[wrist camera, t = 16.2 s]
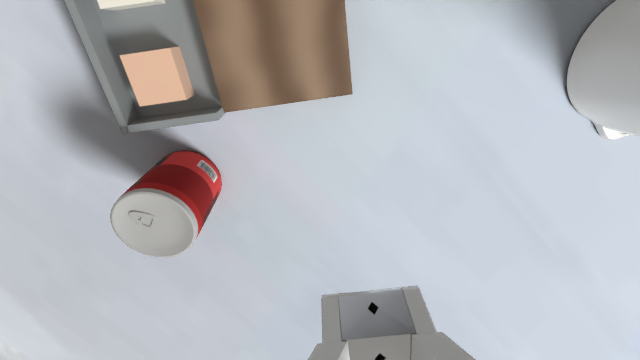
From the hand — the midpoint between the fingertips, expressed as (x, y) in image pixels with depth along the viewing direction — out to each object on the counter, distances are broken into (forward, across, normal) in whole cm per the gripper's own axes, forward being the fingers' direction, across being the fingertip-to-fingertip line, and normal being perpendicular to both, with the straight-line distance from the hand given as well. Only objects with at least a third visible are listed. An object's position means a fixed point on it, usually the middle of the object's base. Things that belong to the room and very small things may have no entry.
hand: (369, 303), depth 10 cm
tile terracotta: (+28, +17, -5) cm, 33 cm away
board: (+29, +5, -10) cm, 31 cm away
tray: (+29, +17, -10) cm, 35 cm away
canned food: (+29, +19, +7) cm, 35 cm away
